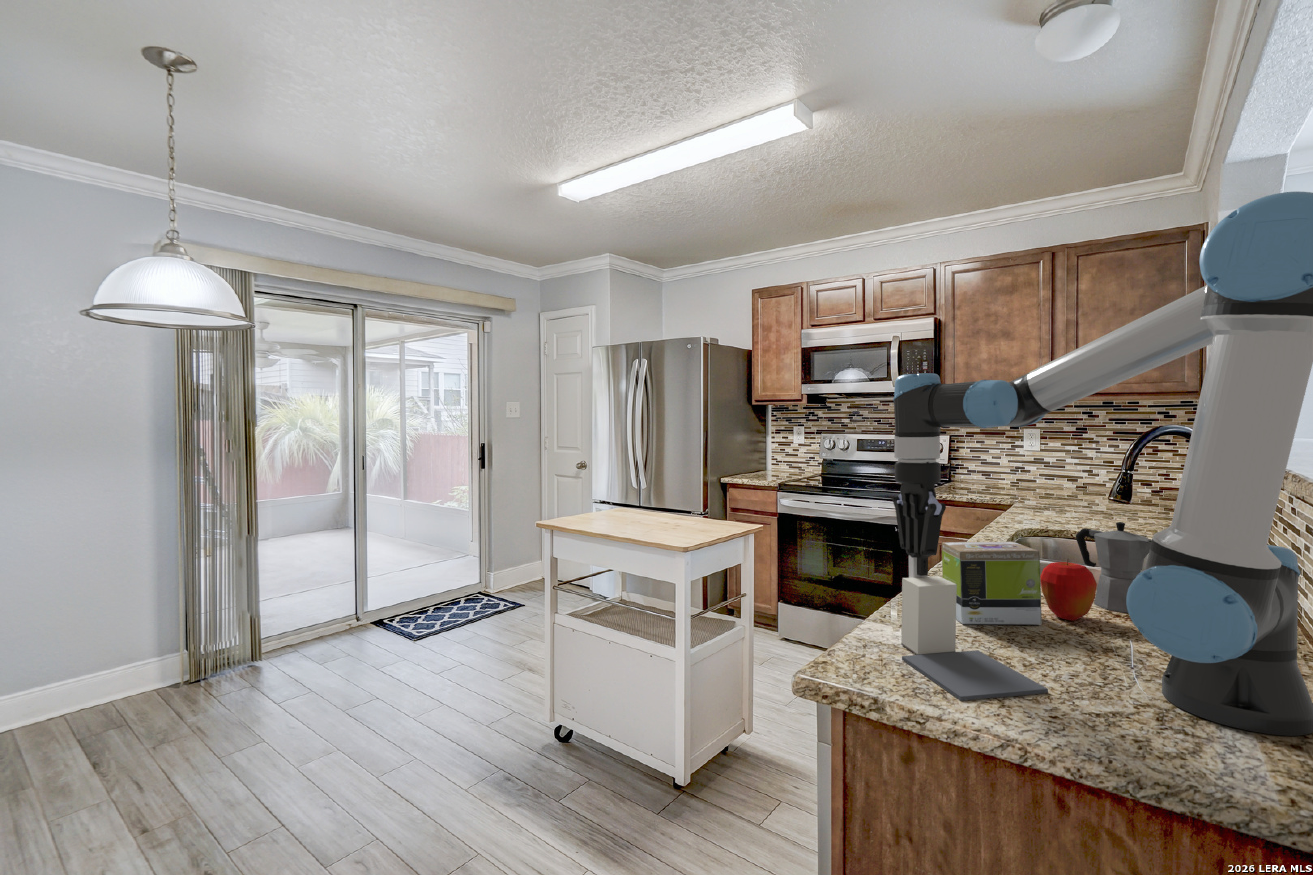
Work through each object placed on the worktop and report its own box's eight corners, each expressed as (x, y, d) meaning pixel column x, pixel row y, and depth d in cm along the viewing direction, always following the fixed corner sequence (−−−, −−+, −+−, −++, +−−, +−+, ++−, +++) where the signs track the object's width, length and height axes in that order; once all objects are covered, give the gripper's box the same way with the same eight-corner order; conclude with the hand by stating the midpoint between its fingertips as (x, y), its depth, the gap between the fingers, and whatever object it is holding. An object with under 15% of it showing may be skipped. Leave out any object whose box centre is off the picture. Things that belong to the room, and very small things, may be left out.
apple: (1101, 617, 119) (1101, 558, 119) (1090, 628, 113) (1090, 565, 112) (1047, 607, 126) (1047, 551, 125) (1034, 617, 120) (1034, 558, 119)
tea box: (1016, 610, 124) (1016, 540, 124) (1042, 627, 114) (1042, 550, 114) (941, 609, 126) (941, 539, 125) (960, 625, 116) (960, 550, 115)
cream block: (955, 653, 102) (956, 584, 101) (917, 656, 101) (918, 586, 100) (937, 641, 107) (938, 576, 106) (901, 644, 106) (902, 578, 105)
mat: (1048, 692, 87) (1048, 688, 87) (960, 700, 85) (960, 696, 85) (977, 653, 101) (977, 650, 101) (901, 659, 99) (901, 656, 99)
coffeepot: (1169, 612, 122) (1170, 525, 121) (1144, 619, 118) (1144, 529, 117) (1088, 593, 136) (1088, 514, 135) (1063, 599, 132) (1063, 518, 131)
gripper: (960, 462, 100) (961, 601, 101) (915, 458, 113) (916, 581, 114) (919, 463, 99) (920, 603, 100) (878, 459, 112) (880, 583, 112)
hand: (918, 591), depth 107 cm, fingers closed
